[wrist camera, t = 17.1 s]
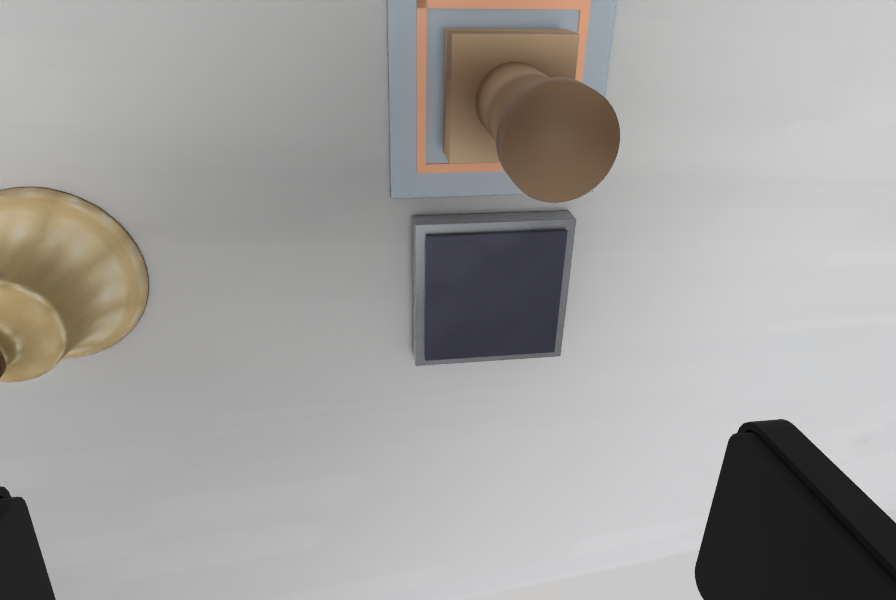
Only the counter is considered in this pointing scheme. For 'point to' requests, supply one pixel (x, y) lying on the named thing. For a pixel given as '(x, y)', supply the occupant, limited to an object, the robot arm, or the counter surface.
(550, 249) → the ink pad
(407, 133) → the card
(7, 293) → the hand bell
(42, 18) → the counter surface
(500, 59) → the stamp
